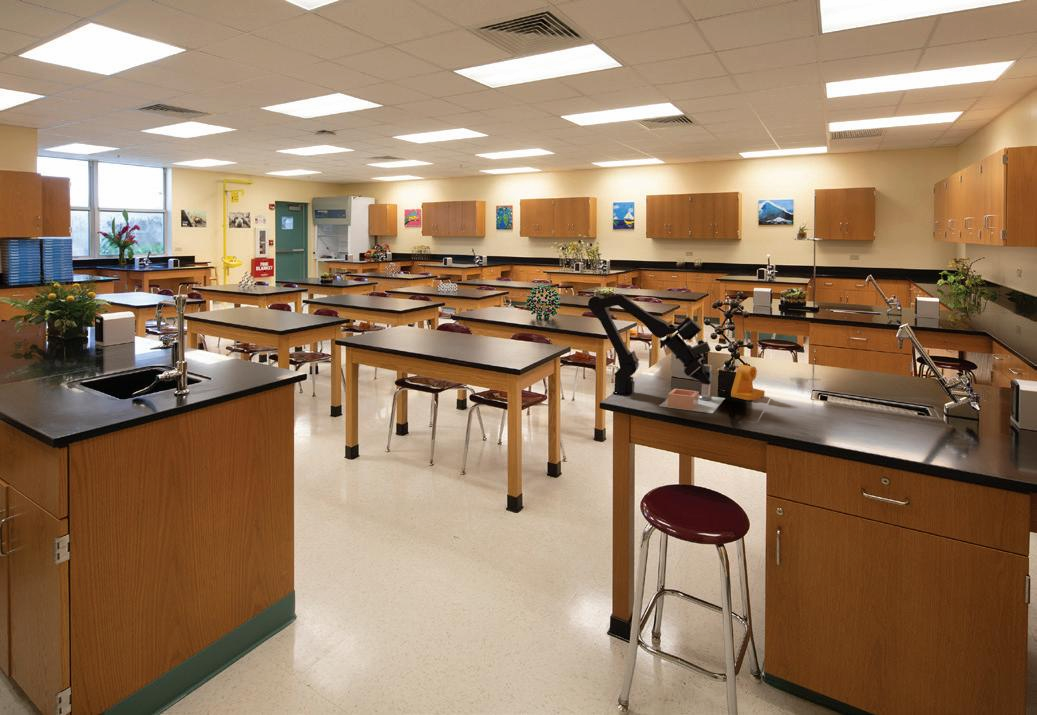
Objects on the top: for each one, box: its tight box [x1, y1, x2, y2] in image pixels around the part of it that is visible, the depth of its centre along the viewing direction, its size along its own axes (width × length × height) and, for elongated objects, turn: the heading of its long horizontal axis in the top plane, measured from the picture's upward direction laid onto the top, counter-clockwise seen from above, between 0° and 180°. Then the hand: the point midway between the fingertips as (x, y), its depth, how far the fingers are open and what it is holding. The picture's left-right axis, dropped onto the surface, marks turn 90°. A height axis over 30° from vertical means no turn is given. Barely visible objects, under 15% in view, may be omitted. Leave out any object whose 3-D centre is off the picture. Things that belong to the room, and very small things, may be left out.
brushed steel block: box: [699, 363, 713, 401], centre depth 212 cm, size 4×4×12 cm
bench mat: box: [658, 394, 726, 414], centre depth 209 cm, size 18×22×1 cm
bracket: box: [730, 364, 766, 401], centre depth 215 cm, size 11×7×12 cm, turn 127°
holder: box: [667, 388, 700, 411], centre depth 205 cm, size 8×8×4 cm
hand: (710, 380), depth 211 cm, fingers open, 9 cm apart
